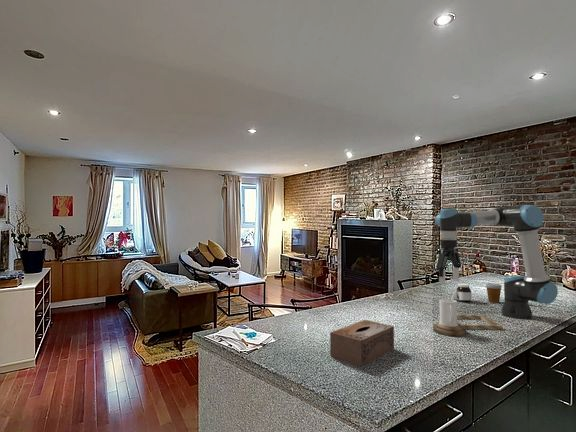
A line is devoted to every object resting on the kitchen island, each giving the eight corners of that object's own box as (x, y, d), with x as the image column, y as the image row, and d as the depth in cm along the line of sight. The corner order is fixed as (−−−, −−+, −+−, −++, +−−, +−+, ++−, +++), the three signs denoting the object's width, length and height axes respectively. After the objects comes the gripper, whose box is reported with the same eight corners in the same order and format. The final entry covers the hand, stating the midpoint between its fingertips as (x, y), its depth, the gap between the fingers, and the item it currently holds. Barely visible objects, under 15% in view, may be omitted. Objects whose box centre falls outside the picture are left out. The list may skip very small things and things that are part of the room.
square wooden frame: (481, 318, 195) (481, 314, 195) (502, 329, 174) (502, 325, 174) (444, 318, 195) (444, 314, 195) (461, 329, 175) (461, 325, 175)
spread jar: (473, 303, 232) (473, 285, 232) (456, 303, 232) (456, 285, 233) (464, 299, 244) (464, 282, 244) (448, 299, 244) (448, 282, 244)
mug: (460, 329, 164) (460, 304, 164) (440, 328, 167) (440, 303, 167) (456, 322, 175) (456, 299, 175) (438, 321, 178) (438, 298, 178)
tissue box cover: (360, 367, 130) (360, 340, 130) (330, 357, 140) (330, 332, 140) (394, 349, 148) (393, 326, 148) (365, 341, 158) (364, 319, 158)
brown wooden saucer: (457, 327, 179) (457, 320, 179) (472, 336, 164) (472, 329, 164) (428, 326, 179) (428, 320, 179) (440, 336, 164) (440, 329, 164)
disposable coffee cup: (486, 299, 241) (486, 282, 241) (502, 301, 236) (502, 284, 236) (485, 302, 233) (484, 284, 234) (501, 304, 228) (501, 286, 228)
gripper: (453, 238, 183) (454, 278, 183) (428, 240, 168) (428, 283, 167) (467, 238, 177) (468, 280, 177) (443, 240, 162) (443, 285, 162)
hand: (449, 281), depth 172 cm, fingers open, 13 cm apart
